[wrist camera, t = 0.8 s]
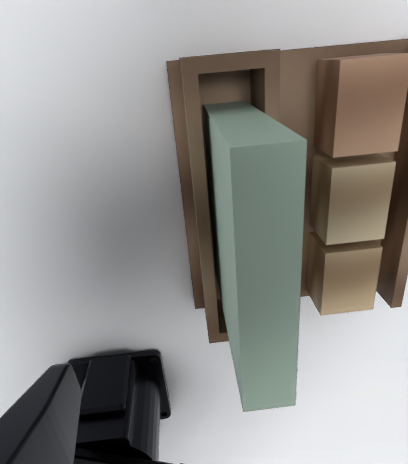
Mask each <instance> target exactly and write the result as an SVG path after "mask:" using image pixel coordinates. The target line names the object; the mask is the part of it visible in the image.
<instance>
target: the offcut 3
mask: <svg viewBox="0 0 408 464" xmlns="http://www.w3.org/2000/svg"><path fill="white" fill-rule="evenodd" d="M382 249H383V247H382V246H381V245H380V244H379V243H378V242H376V241H375V240H368V241H359V242H350V243H341V244H332V245H326V244H325V243H324V242H323V241H322V239H321V238H320V237H319V236H318V234H317V233H316V232H309V244H308V263H307V282H306V290H307V292H308V294H309V295H310V297H311V299H312V301H313V302H314V304H315V306H316V308H317V310H318V311H319V313H320V315H328V314H336V313H345V312H353V311H362V310H370V309H373V306H374V300H375V294H376V287H377V281H378V274H379V268H380V262H381V255H382Z"/></svg>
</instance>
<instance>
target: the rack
mask: <svg viewBox="0 0 408 464" xmlns="http://www.w3.org/2000/svg"><path fill="white" fill-rule="evenodd" d="M381 53H408V39H400V40H390V41H379V42H368V43H357V44H347V45H336V46H325V47H314V48H304V49H293V50H282V51H280V49H273V50H259V51H248V52H237V53H226V54H215V55H205V56H194V57H183V58H179V59H180V60H174V61H166V62H167V71H168V79H169V88H170V96H171V105H172V114H173V122H174V131H175V139H176V148H177V156H178V165H179V173H180V182H181V191H182V199H183V208H184V216H185V225H186V233H187V242H188V251H189V259H190V268H191V276H192V285H193V293H194V302H195V309H198V308H205V313H206V321H207V329H208V337H209V343H216V342H224V341H229V337H228V332H227V327H226V322H225V317H224V312H223V307H222V302H221V297H220V292H219V287H218V282H217V273H216V260H215V248H214V235H213V222H212V210H211V197H210V185H209V172H208V160H207V147H206V135H205V122H204V110H203V105H206V104H216V103H226V102H236V101H246V102H247V103H249V104H251V105H252V106H254V107H255V108H257V109H259V110H260V111H262V112H263V113H265V114H267V115H268V116H270V117H271V118H273V119H274V120H276V121H278V122H279V123H281V124H282V125H284V126H286V127H287V128H289V129H290V130H292V131H294V132H295V133H297V134H298V135H300V136H302V137H303V138H305V139H306V140H307V153H306V176H305V199H304V222H303V245H302V268H301V290H300V297H302V296H310V295H309V294H308V292H307V290H306V282H307V263H308V244H309V232H315V231H314V229H313V228H312V227H311V226H310V205H311V186H312V167H313V155H319V154H326V153H325V152H323V151H322V150H320V149H318V148H317V147H315V146H314V129H315V109H316V90H317V71H318V59H328V58H338V57H349V56H360V55H370V54H381ZM379 154H381V155H383V156H385V157H387V158H389V159H391V160H393V161H395V162H396V166H395V172H394V179H393V185H392V191H391V198H390V204H389V211H388V217H387V223H386V230H385V236H384V239H377V240H375V241H376V242H378V243H379V244H380V245H381V246H382V247H383V249H382V255H381V262H380V268H379V274H378V281H377V287H376V291H377V292H378V293H379V294H380V296H381V297H382V298H383V299H384V300H385V301H386V302H387V304H388V305H389V306H390V307H391V308H394V307H401V305H402V300H403V295H404V290H405V285H406V280H407V275H408V89H407V96H406V102H405V108H404V115H403V121H402V128H401V134H400V140H399V147H398V151H394V152H384V153H379Z"/></svg>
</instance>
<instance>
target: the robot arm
mask: <svg viewBox="0 0 408 464" xmlns="http://www.w3.org/2000/svg"><path fill="white" fill-rule="evenodd" d="M152 358H155V359H152ZM73 367H74V368H73ZM170 415H171V408H170V402H169V397H168V391H167V386H166V380H165V375H164V369H163V364H162V358H161V354H160V353H159V352H158V351H145V352H137V353H128V354H120V355H111V356H103V357H95V358H86V359H78V360H71V361H69V362H67V363H64V364H58V365H53V366H51V367H50V368H48V369H47V370H46V371H45V373H44V374H43V375H42V376H41V377H40V378H39V379H38V380H37V381H36V382H35V383H34V384H33V385H32V386H31V387H30V388H29V389H28V390H27V391H26V392H25V393H24V394H23V395H22V396H21V397H20V398H19V399H18V400H17V401H16V402H15V403H14V404H13V405H12V406H11V407H10V408H9V409H8V410H7V411H6V412H5V414H4V415H3V416H2V417H1V418H0V464H172V463H166V462H160V461H158V456H159V428H160V419H165V418H168V417H170ZM180 464H182V463H180Z"/></svg>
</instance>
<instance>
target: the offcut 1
mask: <svg viewBox="0 0 408 464" xmlns="http://www.w3.org/2000/svg"><path fill="white" fill-rule="evenodd" d="M407 89H408V53H381V54H370V55H360V56H349V57H338V58H328V59H318V71H317V90H316V109H315V129H314V146H315V147H317V148H318V149H320V150H322V151H323V152H325V153H326V154H328V155H329V156H331V157H333V158H336V157H345V156H355V155H365V154H375V153H384V152H394V151H398V147H399V140H400V134H401V128H402V121H403V115H404V108H405V102H406V96H407Z"/></svg>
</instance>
